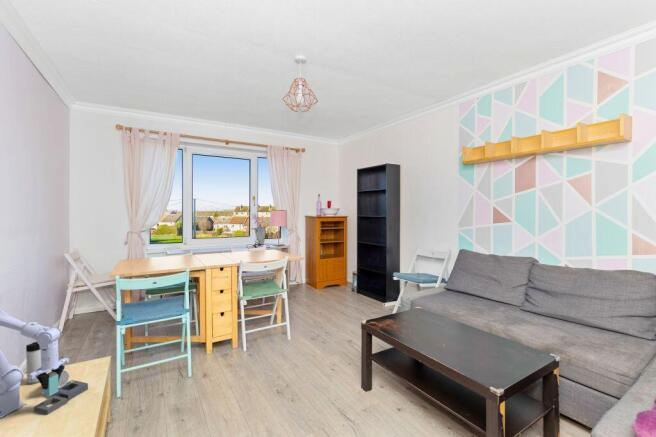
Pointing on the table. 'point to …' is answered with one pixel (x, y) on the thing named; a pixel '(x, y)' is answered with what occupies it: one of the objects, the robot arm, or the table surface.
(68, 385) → the port
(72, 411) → the table surface
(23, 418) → the table surface
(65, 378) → the clear glass jar
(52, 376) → the plug
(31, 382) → the travel mug
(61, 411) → the table surface
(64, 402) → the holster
